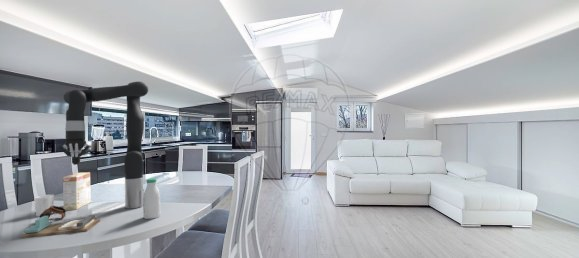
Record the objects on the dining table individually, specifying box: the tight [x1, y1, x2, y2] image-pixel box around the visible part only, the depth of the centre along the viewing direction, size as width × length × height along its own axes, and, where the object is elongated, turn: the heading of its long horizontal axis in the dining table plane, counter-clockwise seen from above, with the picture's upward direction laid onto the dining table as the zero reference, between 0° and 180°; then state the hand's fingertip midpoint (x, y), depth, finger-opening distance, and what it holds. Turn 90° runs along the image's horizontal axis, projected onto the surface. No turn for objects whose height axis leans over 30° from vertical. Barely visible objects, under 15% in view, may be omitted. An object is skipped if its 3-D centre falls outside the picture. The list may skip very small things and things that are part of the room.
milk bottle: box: [142, 177, 161, 220], centre depth 132 cm, size 8×8×20 cm
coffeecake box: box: [62, 171, 92, 211], centre depth 153 cm, size 15×7×20 cm, turn 12°
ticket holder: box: [20, 213, 101, 239], centre depth 117 cm, size 24×13×4 cm, turn 106°
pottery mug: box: [39, 205, 67, 220], centre depth 128 cm, size 12×10×8 cm
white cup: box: [33, 193, 55, 217], centre depth 138 cm, size 8×8×10 cm
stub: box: [23, 216, 52, 234], centre depth 114 cm, size 5×9×5 cm, turn 16°
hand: (76, 164), depth 126 cm, fingers closed
